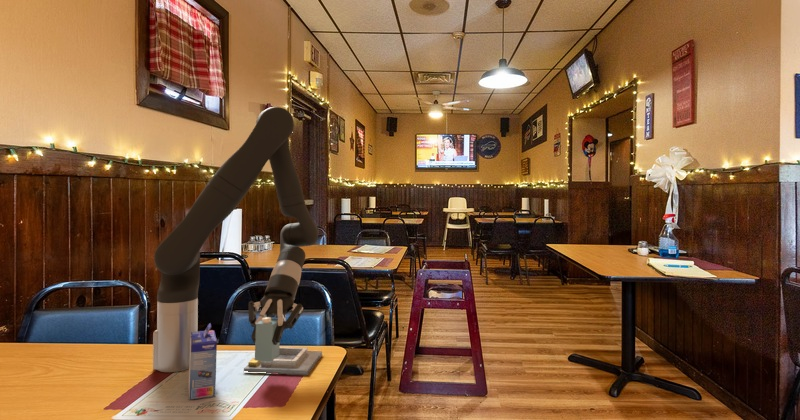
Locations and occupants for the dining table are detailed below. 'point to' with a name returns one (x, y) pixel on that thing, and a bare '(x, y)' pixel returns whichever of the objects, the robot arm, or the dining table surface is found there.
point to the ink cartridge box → (202, 364)
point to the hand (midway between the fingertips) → (264, 342)
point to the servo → (266, 340)
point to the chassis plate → (287, 362)
